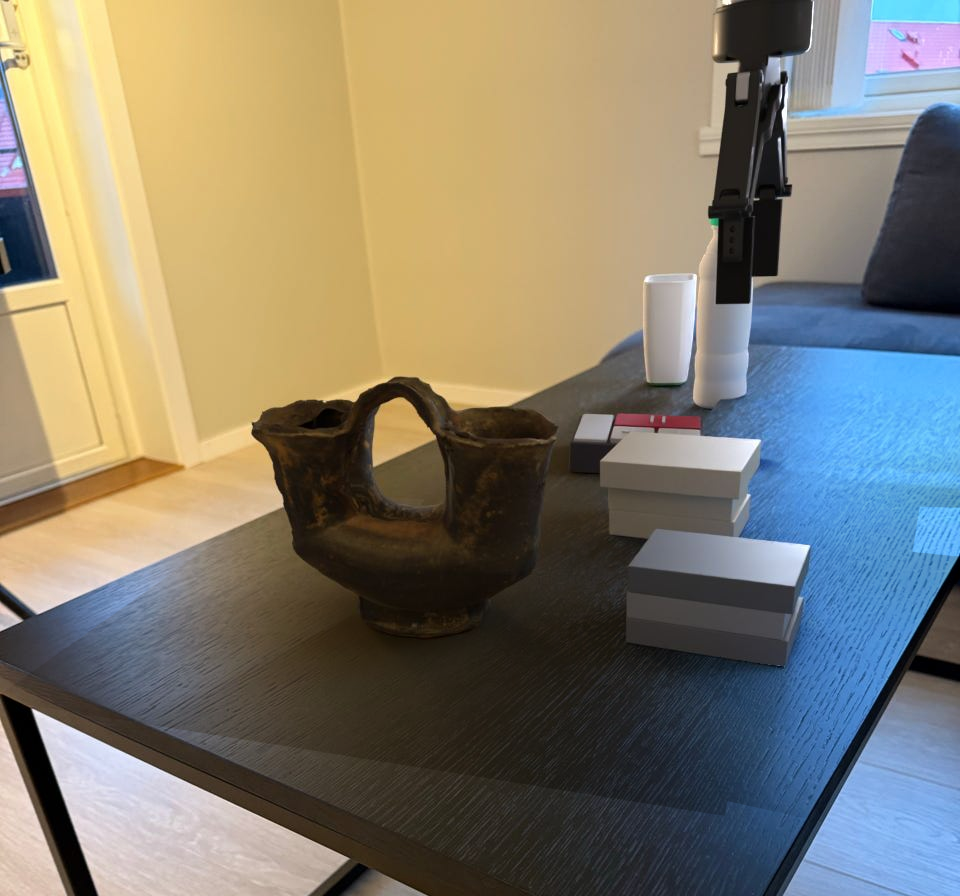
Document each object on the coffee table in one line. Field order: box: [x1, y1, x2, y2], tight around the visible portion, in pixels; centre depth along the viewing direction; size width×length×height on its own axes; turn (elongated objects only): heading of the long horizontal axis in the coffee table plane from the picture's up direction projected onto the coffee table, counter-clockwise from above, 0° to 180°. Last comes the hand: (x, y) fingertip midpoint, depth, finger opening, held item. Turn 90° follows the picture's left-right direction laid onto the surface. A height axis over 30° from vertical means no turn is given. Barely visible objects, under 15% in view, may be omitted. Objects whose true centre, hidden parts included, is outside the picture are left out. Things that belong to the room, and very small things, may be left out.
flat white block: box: [599, 431, 762, 499], centre depth 88 cm, size 13×10×3 cm
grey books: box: [625, 529, 812, 668], centre depth 71 cm, size 12×8×7 cm, turn 65°
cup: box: [642, 272, 697, 386], centre depth 136 cm, size 7×7×15 cm
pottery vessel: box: [250, 375, 559, 639], centre depth 75 cm, size 25×11×20 cm, turn 71°
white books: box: [607, 484, 751, 540], centre depth 90 cm, size 12×8×5 cm, turn 65°
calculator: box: [568, 413, 705, 474], centre depth 109 cm, size 11×4×15 cm
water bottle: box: [692, 218, 754, 410], centre depth 122 cm, size 7×7×25 cm
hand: (748, 289), depth 82 cm, fingers open, 13 cm apart
